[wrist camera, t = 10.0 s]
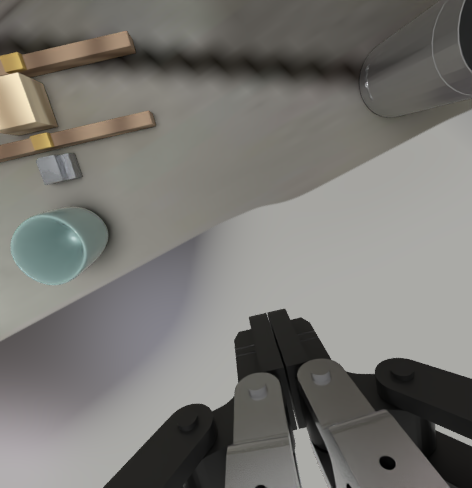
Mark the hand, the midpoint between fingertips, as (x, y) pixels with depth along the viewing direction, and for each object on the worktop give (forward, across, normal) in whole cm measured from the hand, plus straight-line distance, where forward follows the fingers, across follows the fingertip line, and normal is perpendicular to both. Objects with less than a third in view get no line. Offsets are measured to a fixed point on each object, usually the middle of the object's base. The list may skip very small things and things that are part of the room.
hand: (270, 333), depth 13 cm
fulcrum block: (+32, +20, -10) cm, 39 cm away
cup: (+32, +20, -2) cm, 38 cm away
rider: (+32, +21, -18) cm, 42 cm away
